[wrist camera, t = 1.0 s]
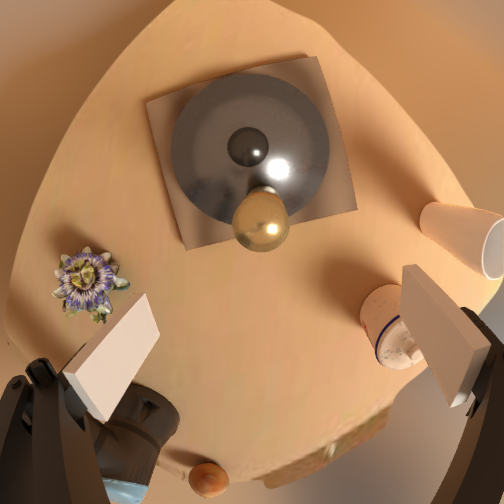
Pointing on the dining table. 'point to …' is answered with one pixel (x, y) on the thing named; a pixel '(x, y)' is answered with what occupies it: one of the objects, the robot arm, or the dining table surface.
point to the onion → (208, 480)
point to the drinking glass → (467, 236)
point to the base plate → (321, 205)
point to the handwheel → (250, 155)
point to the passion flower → (88, 283)
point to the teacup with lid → (388, 329)
